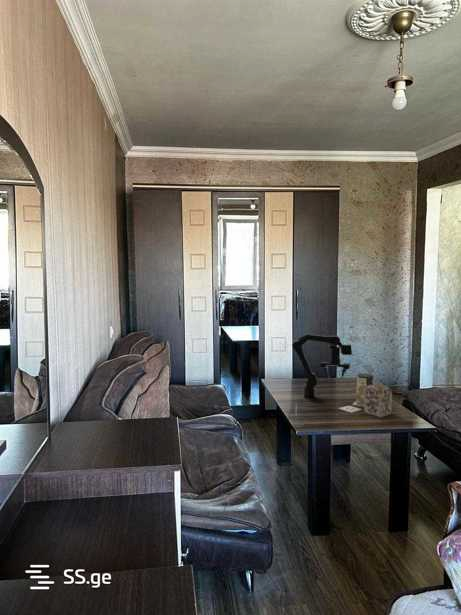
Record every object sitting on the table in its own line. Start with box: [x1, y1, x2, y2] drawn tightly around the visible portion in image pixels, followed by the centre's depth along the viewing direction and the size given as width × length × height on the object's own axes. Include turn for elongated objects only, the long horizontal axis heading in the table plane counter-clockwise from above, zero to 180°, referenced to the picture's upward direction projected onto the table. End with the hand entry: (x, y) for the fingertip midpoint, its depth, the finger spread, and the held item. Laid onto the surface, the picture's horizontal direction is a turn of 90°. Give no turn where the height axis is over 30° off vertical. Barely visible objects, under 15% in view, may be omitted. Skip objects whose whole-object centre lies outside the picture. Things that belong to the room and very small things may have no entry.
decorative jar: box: [363, 381, 393, 418], centre depth 265 cm, size 12×12×18 cm
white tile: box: [338, 405, 363, 413], centre depth 273 cm, size 10×10×1 cm
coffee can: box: [356, 373, 374, 386], centre depth 303 cm, size 10×10×14 cm
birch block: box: [355, 384, 367, 405], centre depth 283 cm, size 5×5×12 cm
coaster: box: [351, 401, 364, 408], centre depth 284 cm, size 9×9×1 cm
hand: (335, 378), depth 299 cm, fingers open, 9 cm apart
